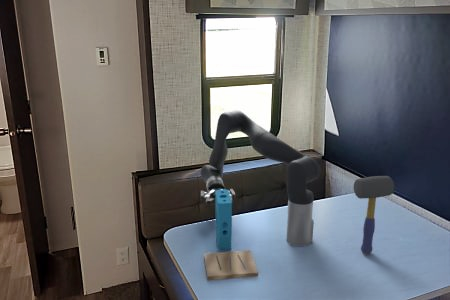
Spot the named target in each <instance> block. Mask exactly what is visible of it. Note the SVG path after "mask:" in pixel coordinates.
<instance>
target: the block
mask: <svg viewBox="0 0 450 300" xmlns="http://www.w3.org/2000/svg"><path fill="white" fill-rule="evenodd" d="M229 191H230V189H226V188H225V190H216V191H215V199H214V200H215V204H214V205H215V206H214V207H215V239H216V240H215V241H216V245H217V250H218V251H230V250H232V242H233V241H232V238H233V233H232V232H233V228H232V227H233V221H232V220H233V217H232V216H233V200H232V201H231V197H230V194H229Z"/></svg>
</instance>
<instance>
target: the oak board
mask: <svg viewBox="0 0 450 300" xmlns="http://www.w3.org/2000/svg"><path fill="white" fill-rule="evenodd" d="M203 257H204V263H205V265H204V266H205V272H206V279H207V281H218V280H229V279H243V278H245V279H246V278H255V277H259V270H258V267H257V265H256V263H255V259H254V256H253V252H252V250H249V249H248V250H238V251H237V250H235V251H219V252H210V253H209V252H207V253H206V252H205V253H203Z"/></svg>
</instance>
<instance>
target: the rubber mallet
mask: <svg viewBox="0 0 450 300" xmlns="http://www.w3.org/2000/svg"><path fill="white" fill-rule="evenodd" d="M394 191H395V182H394V180H393V178H391V177H390V176H388V175H377V176H376V175H374V176H368V177H367V176H366V177H361V178H356V179H355V181H354V183H353V192H354V195H355V196H356V197H357V198H358V199H368V202H367V208H366V216H365V219H364V223H363V227H362V228H363V229H362V230H363V235H362V244H361V247H360V250H361V252H362V254H363V255H367V256H368V255H371V254H372V252H373V238H374V233H375V228H376V226H375V225H376V223H375V222H376V219H375V212H376V211H375V210H376V200H377V198H384V197H389V196H392V194H393V193H394Z"/></svg>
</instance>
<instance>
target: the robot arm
mask: <svg viewBox="0 0 450 300" xmlns="http://www.w3.org/2000/svg"><path fill="white" fill-rule="evenodd" d="M237 132H239V133H243V134H245V135H246V136H247V137H248V138H249V141H250V145H251V147H252V149H253V150H254V151H256V152H257V153H258V154H260V155H261V156H262V157H264V158H266V159H268V160H271V161H274V162H275V161H276V162H278V163H283V164H286V165H287V167H286V192H287V195H288V201H287V216H286V217H287V219H286V220H287V221H286V223H287V224H286V242H287V243H288V244H290V245H292V246H295V247H306V246H308V245H310V244H313V239H314V224H315V223H314V219H313V209H314V192H312V191H311V190H309V189H307V184H308V183H311V182H313V181H315V180H317V179H318V178H320V176H321V172H322V171H321V167H320V164H319V163H318V162H317V160H316V159H314V158H313V157H312V156H310V155H307V154H305V153H304V152H301V151H299V150H297V149H296V148H294V147H293V146H291V145H290V144H288V143H287V142H284V141H283V140H282V139H280V138H278V137H277V136H275V134H273V133H271V132H270V131H268V130H266V129H265V128H263V127H262V126H260V125H259V124H257V123H256V122H255V121H253V120H252V118H250V117H249V116H248V115H246V114H245V113H244V112H242V111H241V110H230V111H225V112H223V113H221V114H220V115H219V117H218V120H217V125H216V132H215V137H214V142H213V143H214V145H213V146H212V147H213V148H212V149H211V150H212V151H211V153H210V156H209V159H208V163H209V164H204V165H203V166H202V167H201V169H200V177H201V178H202V179H201V180H203V181H204V182H205V184H206V190H207V191H204V190H200V202H202V203H203V202H204V203H205V205H207V206H211V205H210V204H211V202H212V201H213V200H215V191H216V190H225V189H226V187H225V185H224V181H223V175H224V164H225V161H226V159H227V156H228V145H227V143H226V142H227V138H228V137H229V135H230V134H234V133H237ZM229 194H230V197H231V201H232V202H233V201H235V200H236V193H235V191H234V189H233V188H230V189H229Z"/></svg>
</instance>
